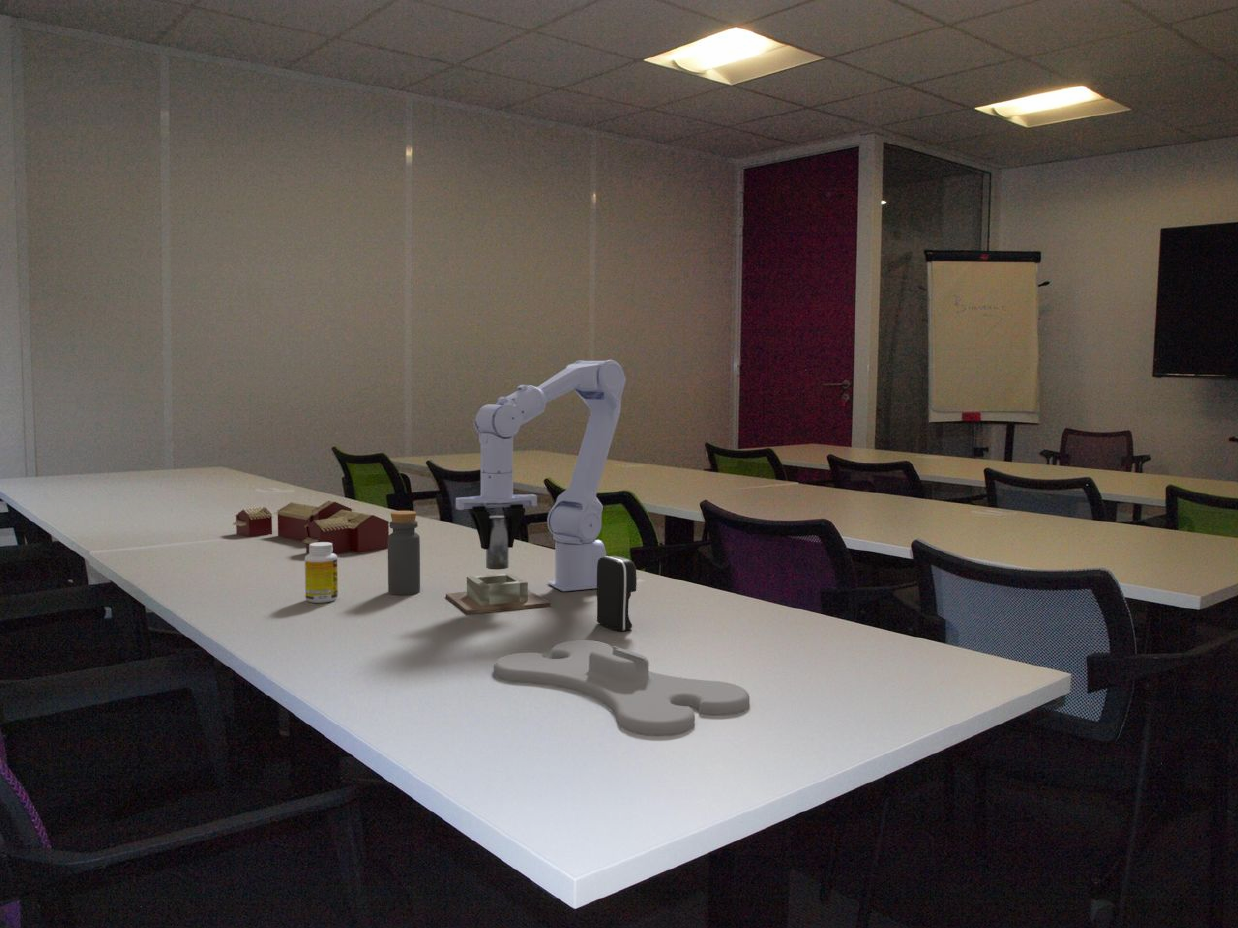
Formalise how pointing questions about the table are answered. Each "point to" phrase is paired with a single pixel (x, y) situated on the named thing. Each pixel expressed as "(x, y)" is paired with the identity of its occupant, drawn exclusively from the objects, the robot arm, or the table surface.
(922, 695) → the table surface
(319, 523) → the toy houses
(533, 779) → the table surface
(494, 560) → the peg
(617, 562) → the battery charger
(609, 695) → the holder
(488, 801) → the table surface
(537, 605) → the socket
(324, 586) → the supplement bottle
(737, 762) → the table surface
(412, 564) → the bottle
